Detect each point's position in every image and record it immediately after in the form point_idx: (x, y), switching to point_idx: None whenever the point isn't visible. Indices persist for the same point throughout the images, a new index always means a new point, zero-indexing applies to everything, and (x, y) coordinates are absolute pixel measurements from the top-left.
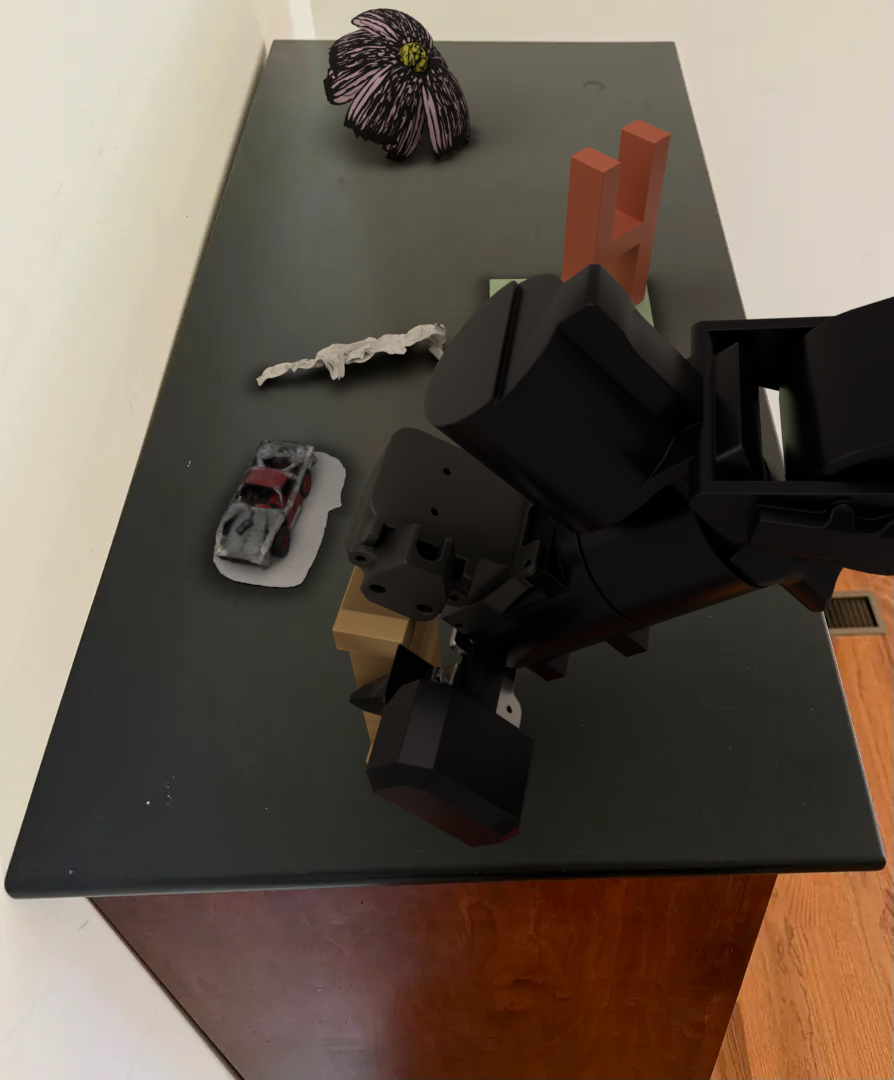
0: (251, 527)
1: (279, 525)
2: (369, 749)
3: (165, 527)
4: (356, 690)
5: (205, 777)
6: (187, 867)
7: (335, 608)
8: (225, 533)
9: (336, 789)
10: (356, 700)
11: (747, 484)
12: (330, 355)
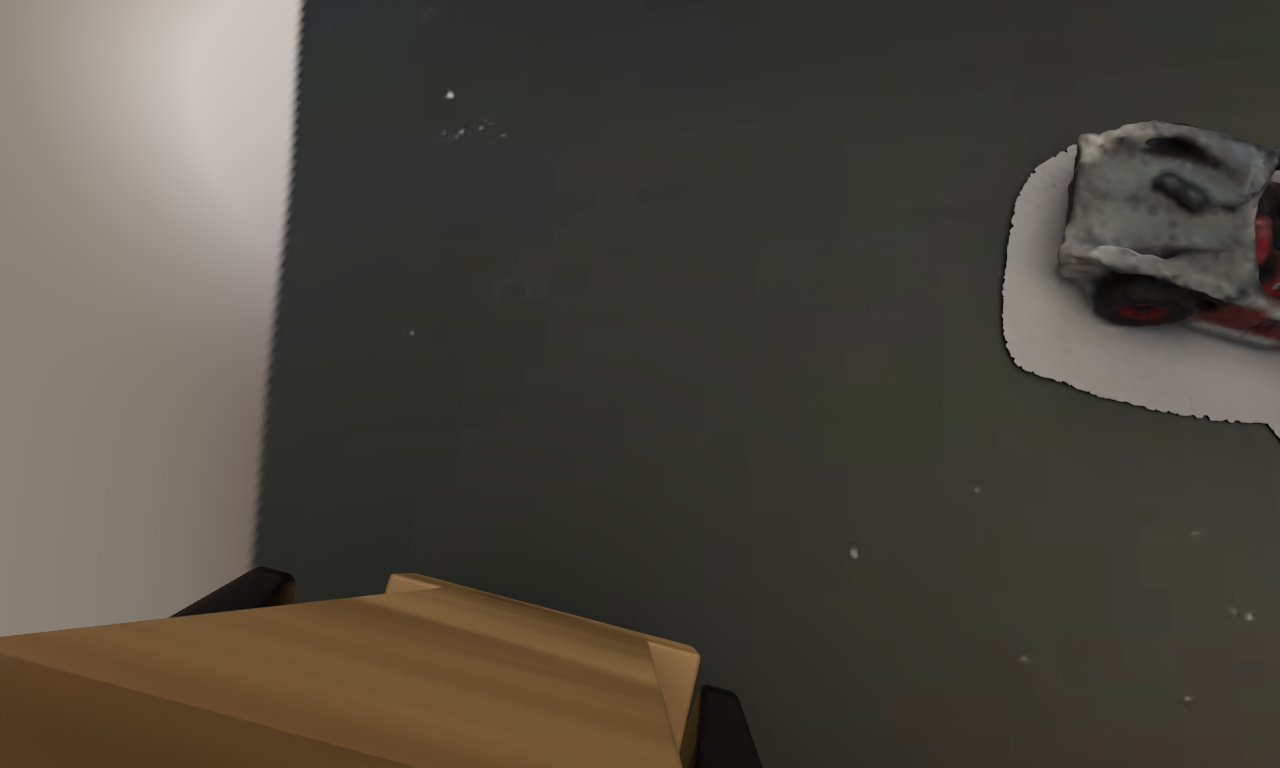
0: (1181, 211)
1: (1196, 286)
2: (430, 582)
3: (1169, 25)
4: (252, 606)
5: (496, 198)
6: (302, 188)
7: (943, 459)
8: (1154, 148)
9: (441, 486)
10: (176, 613)
11: None
12: None
